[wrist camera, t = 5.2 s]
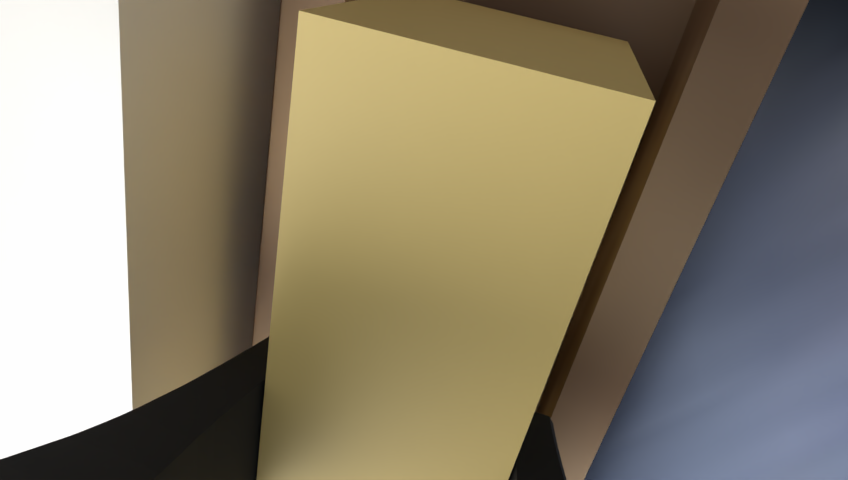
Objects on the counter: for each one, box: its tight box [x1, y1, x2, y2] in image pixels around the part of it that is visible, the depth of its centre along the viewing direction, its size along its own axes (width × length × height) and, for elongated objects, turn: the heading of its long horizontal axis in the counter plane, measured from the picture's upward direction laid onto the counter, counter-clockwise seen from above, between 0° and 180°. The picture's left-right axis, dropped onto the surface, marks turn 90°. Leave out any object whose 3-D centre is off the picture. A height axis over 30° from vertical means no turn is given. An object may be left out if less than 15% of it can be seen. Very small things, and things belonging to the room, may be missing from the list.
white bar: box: [0, 0, 281, 459], centre depth 14 cm, size 14×4×5 cm, turn 168°
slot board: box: [252, 0, 809, 480], centre depth 15 cm, size 22×16×4 cm
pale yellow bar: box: [256, 0, 656, 480], centre depth 12 cm, size 14×4×5 cm, turn 168°
